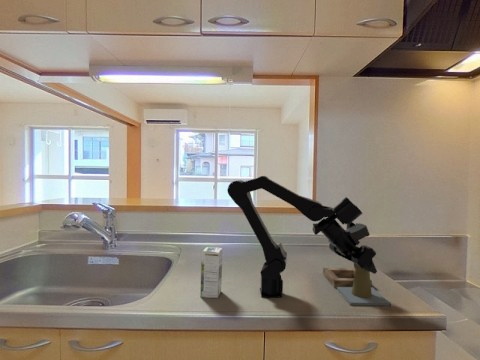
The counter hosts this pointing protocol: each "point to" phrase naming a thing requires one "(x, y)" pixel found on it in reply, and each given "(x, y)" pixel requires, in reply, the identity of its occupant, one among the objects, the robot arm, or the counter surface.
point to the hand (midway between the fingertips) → (366, 267)
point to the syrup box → (211, 272)
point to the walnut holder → (334, 273)
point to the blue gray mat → (354, 300)
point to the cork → (361, 283)
